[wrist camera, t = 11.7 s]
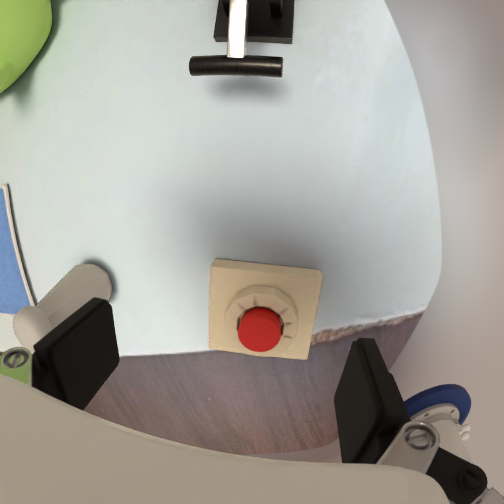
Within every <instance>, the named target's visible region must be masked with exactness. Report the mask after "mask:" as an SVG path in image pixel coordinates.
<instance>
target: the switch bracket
mask: <svg viewBox="0 0 504 504" xmlns="http://www.w3.org/2000/svg"><path fill="white" fill-rule="evenodd" d="M229 11H230V0H219V3H218V9H217V16H216V23H215V30H214V39H215V40H216V42H223V41H228V27H229ZM293 16H294V0H249V12H248V28H247V41H250V42H274V43H288V44H292V34H293Z"/></svg>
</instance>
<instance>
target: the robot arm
mask: <svg viewBox="0 0 504 504" xmlns="http://www.w3.org/2000/svg"><path fill="white" fill-rule="evenodd" d="M33 348H34V351H35V352H34V353H33V354H32V353H31V352H30V350H28V349H27V348H24V347H15V348H11V349H9V350H7V351H6V352H4V353H3V354H2V356H1V358H0V504H504V497H503V496H502V495H501V494H500V493H499V492H498V491H496V490H495V489H494V488H493V487H492V488H490V489H488V488H487V477H486V474H485V473H484V471H483V470H482V469H481V468H479V467H478V466H476V465H474V464H473V462H472V460H471V457H470V455H469V453H468V451H467V449H466V446H465V444H464V442H463V441H464V440H467V439H468V438H469V432H468V431H469V430H470V427H471V426H470V424H466V425H462V426H461V425H460V424H459V422H458V420H459V410H458V409H457V407H456V406H455V405H454V404H451V403H440V404H436V405H432V406H430V407H427V408H425V409H423V410H421V411H419V412H417V413H416V414H414V415H412V416H411V417H409V415H408V412H407V409H406V407H405V404H404V402H403V399H402V397H401V394H400V392H399V389H398V387H397V385H396V382H395V380H394V377H393V375H392V374H391V373H389V372H388V370H387V367H386V365H385V362H384V360H383V358H382V355H381V353H380V351H379V348H378V346H377V344H376V342H375V340H374V339H373V338H358V340H357V341H353V343H352V345H351V348H350V351H349V355H348V358H347V361H346V364H345V367H344V370H343V373H342V376H341V379H340V382H339V384H338V387H337V390H336V393H335V397H334V404H335V411H336V418H337V426H338V433H339V441H340V448H341V458H342V463H314V462H298V461H285V460H273V459H264V458H256V457H248V456H241V455H235V454H229V453H223V452H218V451H213V450H208V449H203V448H198V447H194V446H189V445H185V444H181V443H177V442H173V441H169V440H166V439H162V438H158V437H155V436H151V435H148V434H145V433H142V432H139V431H135V430H132V429H129V428H127V427H124V426H121V425H118V424H115V423H112V422H110V421H107V420H104V419H102V418H99V417H97V416H94V415H92V414H89V413H87V412H85V411H83V410H84V409H85V407H86V406H87V405H88V403H89V402H90V401H91V399H92V398H93V397H94V395H95V394H96V393H97V392H98V390H99V389H100V388H101V386H102V385H103V384H104V382H105V381H106V380H107V379H108V377H109V376H110V375H111V373H112V372H113V371H114V370H115V368H116V367H117V366H118V364H119V352H118V346H117V340H116V334H115V327H114V320H113V312H112V306H111V305H110V304H109V302H108V301H107V300H106V299H101V298H97V297H94V298H92V299H91V300H89V301H88V302H87V303H85V304H84V305H83V306H82V307H80V308H79V309H78V310H76V311H75V312H74V313H73V314H71V315H70V316H69V317H68V318H66V319H65V320H64V321H63V322H61V323H60V324H59V325H58V326H56V327H55V328H54V329H53V330H51V331H50V332H49V333H48V334H46V335H45V336H44V337H43V338H42V339H40V340H39V341H38V342H37V343H36V344H34V345H33Z"/></svg>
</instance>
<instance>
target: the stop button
mask: <svg viewBox="0 0 504 504" xmlns="http://www.w3.org/2000/svg"><path fill="white" fill-rule="evenodd" d="M280 337H281V322H280V319H279V317H278V316H277V315H276V314H275V313H274V312H273V311H271V310H269V309H266V308H254V309H251V310H249V311H247V312H246V313H245V314H244V315H243V316H242V318H241V322H240V325H239V329H238V338H239V340H240V342H241V343H242V345H243V346H244V347H246V348H247V349H249V350H251V351H255V352H266V351H269V350H271V349H273V348H274V347H275V346H276V345H277V344H278V343H279V341H280Z"/></svg>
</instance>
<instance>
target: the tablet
mask: <svg viewBox="0 0 504 504" xmlns="http://www.w3.org/2000/svg"><path fill="white" fill-rule="evenodd" d="M25 306H35V304H34V301H33V299H32V296H31V293H30V290H29V286H28V283H27V280H26V277H25V273H24V270H23V266H22V262H21V258H20V254H19V250H18V246H17V241H16V237H15V232H14V227H13V221H12V215H11V209H10V201H9V192H8V187H7V185H6V184H4V185H2V186H0V314H4V315H14V316H15V315H16V314H17V312H18V311H19V310H20V309H21V308H23V307H25Z"/></svg>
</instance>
